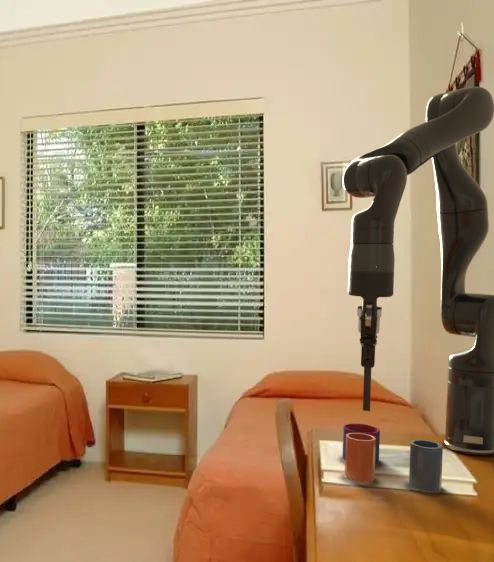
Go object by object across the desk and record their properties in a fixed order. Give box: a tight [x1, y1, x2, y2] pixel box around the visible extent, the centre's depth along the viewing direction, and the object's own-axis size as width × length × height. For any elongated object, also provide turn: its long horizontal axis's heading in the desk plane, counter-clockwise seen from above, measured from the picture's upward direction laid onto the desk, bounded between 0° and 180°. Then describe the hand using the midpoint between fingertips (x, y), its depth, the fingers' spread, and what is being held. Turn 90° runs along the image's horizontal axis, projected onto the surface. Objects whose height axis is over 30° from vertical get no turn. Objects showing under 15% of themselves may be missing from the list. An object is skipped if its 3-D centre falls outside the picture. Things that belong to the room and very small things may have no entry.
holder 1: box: [344, 433, 376, 483], centre depth 108 cm, size 5×5×8 cm
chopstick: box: [362, 367, 372, 412], centre depth 107 cm, size 1×1×13 cm
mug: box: [342, 422, 381, 465], centre depth 117 cm, size 7×10×7 cm
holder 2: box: [408, 439, 444, 493], centre depth 104 cm, size 5×5×8 cm
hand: (367, 365), depth 107 cm, fingers closed on chopstick, 1 cm apart
